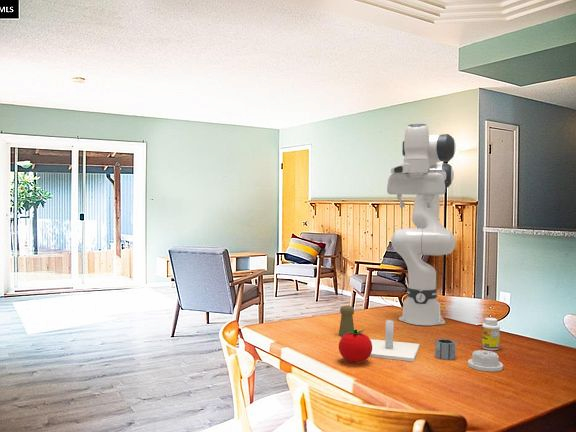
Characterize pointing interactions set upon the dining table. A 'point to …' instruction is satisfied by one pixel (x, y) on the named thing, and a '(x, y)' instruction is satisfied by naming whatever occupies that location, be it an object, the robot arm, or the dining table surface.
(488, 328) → the supplement bottle
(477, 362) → the mechanical component
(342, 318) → the olive pepper mill
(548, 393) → the dining table surface
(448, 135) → the robot arm
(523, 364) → the dining table surface
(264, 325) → the dining table surface
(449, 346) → the ring
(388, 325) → the post block
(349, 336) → the tomato
